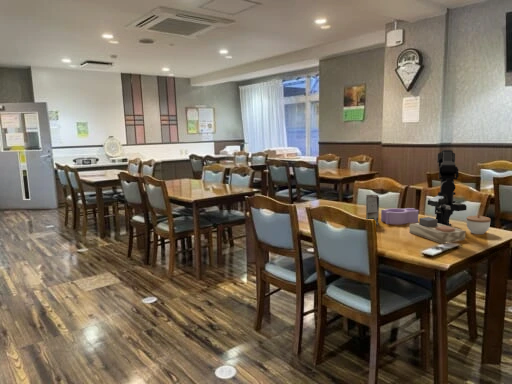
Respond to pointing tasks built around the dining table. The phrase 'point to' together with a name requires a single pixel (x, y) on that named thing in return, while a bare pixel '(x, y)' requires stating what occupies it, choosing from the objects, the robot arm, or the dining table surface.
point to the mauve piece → (399, 215)
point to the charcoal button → (428, 222)
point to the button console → (437, 233)
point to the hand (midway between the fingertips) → (445, 221)
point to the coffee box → (372, 207)
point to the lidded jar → (478, 224)
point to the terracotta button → (445, 229)
